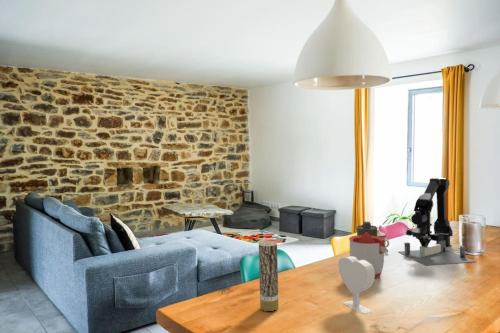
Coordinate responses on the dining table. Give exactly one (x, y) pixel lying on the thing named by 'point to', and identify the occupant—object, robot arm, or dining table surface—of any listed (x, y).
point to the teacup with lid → (382, 235)
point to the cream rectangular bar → (431, 249)
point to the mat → (437, 258)
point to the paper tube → (268, 275)
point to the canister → (367, 229)
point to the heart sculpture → (356, 279)
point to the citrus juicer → (369, 250)
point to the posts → (462, 249)
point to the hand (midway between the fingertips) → (424, 250)
